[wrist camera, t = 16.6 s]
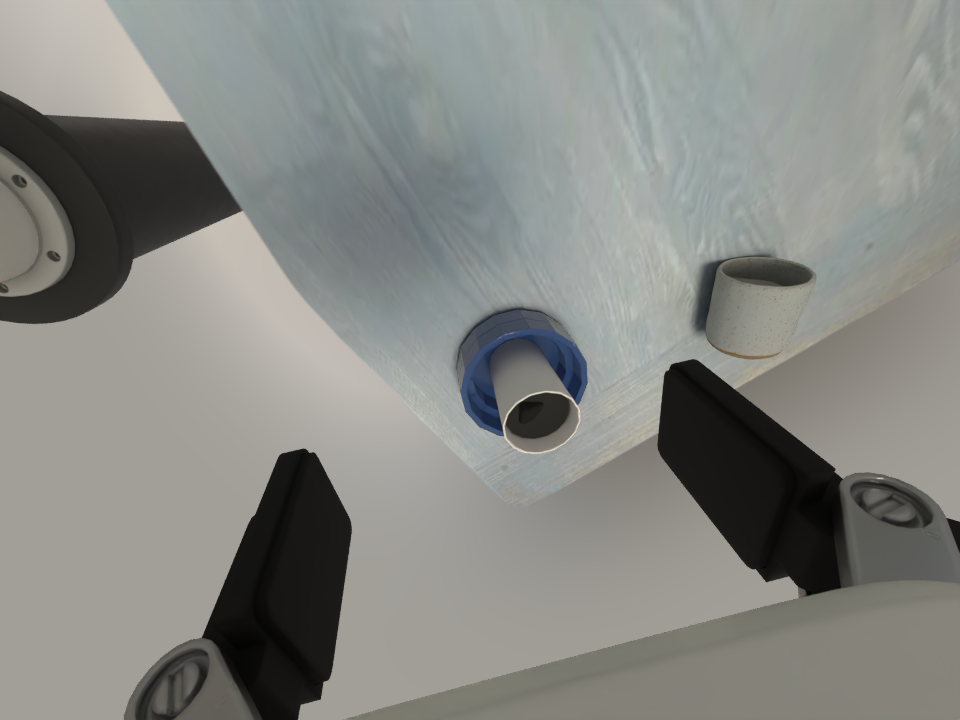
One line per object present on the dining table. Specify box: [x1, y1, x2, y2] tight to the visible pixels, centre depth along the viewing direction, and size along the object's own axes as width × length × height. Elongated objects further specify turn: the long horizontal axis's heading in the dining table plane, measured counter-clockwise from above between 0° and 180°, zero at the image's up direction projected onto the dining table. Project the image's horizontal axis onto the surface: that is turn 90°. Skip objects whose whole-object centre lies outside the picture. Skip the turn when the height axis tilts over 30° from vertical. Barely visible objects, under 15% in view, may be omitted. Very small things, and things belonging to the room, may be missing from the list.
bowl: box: [457, 310, 588, 436], centre depth 40 cm, size 12×12×5 cm
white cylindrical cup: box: [489, 339, 580, 454], centre depth 37 cm, size 7×7×10 cm
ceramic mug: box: [706, 257, 816, 360], centre depth 38 cm, size 11×8×8 cm
